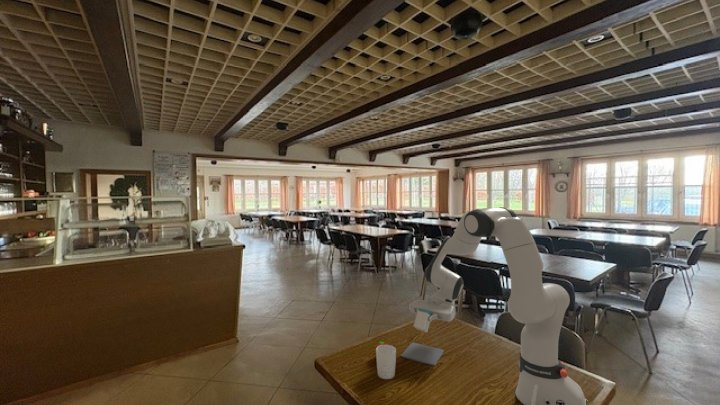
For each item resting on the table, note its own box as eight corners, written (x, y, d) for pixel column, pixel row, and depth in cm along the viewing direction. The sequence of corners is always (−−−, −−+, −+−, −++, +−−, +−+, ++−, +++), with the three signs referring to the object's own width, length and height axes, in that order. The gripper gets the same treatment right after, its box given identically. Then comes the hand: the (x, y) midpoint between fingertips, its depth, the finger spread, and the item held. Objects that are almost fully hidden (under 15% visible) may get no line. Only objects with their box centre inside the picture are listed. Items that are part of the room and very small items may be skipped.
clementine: (371, 357, 136) (371, 341, 136) (383, 352, 140) (383, 336, 140) (383, 365, 130) (383, 348, 130) (395, 360, 134) (395, 343, 134)
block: (427, 332, 133) (432, 313, 136) (423, 329, 130) (428, 310, 133) (417, 329, 136) (423, 311, 139) (413, 326, 133) (418, 308, 136)
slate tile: (443, 351, 141) (443, 349, 141) (434, 366, 129) (434, 364, 129) (412, 343, 148) (412, 342, 148) (400, 356, 136) (400, 355, 136)
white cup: (372, 371, 125) (372, 347, 125) (389, 367, 129) (389, 343, 128) (382, 382, 118) (382, 356, 118) (400, 377, 121) (400, 351, 121)
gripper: (416, 293, 151) (401, 306, 141) (458, 302, 138) (444, 316, 127) (418, 305, 152) (402, 319, 141) (459, 315, 139) (445, 331, 128)
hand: (422, 318), depth 134 cm, fingers closed on block, 4 cm apart
